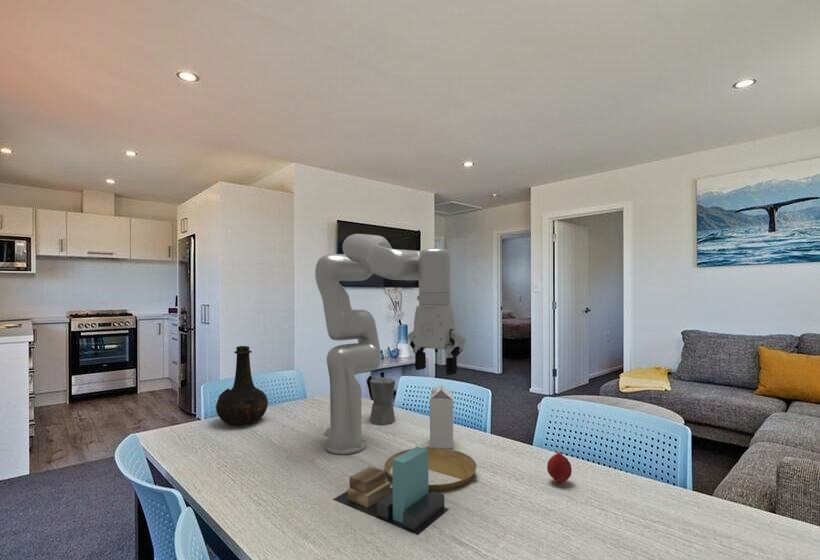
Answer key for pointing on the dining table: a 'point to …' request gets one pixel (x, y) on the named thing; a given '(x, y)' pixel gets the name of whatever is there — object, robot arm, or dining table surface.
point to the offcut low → (369, 495)
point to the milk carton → (441, 417)
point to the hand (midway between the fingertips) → (435, 371)
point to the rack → (413, 517)
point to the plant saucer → (444, 466)
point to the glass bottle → (242, 395)
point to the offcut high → (367, 479)
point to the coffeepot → (381, 399)
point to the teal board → (409, 480)
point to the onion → (559, 467)
